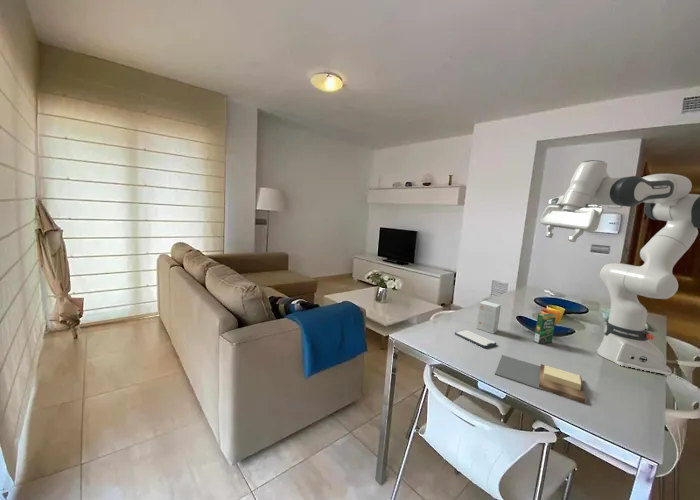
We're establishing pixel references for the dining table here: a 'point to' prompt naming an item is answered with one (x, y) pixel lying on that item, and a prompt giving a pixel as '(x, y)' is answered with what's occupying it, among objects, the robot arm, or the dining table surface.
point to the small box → (488, 316)
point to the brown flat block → (561, 388)
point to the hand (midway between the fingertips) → (559, 239)
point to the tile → (562, 377)
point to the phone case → (476, 339)
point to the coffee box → (544, 328)
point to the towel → (606, 313)
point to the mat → (519, 371)
